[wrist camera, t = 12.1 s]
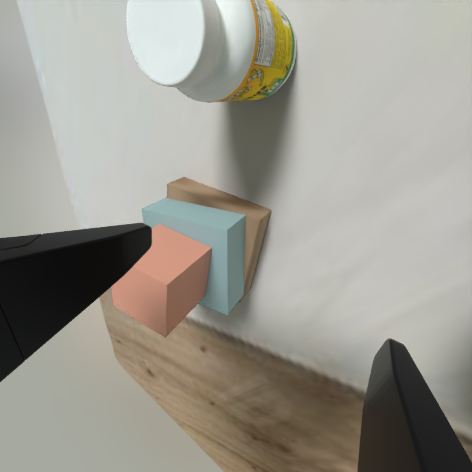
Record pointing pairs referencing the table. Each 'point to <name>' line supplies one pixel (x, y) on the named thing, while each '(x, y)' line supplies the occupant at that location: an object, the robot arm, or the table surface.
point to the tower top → (213, 235)
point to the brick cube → (164, 281)
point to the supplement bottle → (213, 46)
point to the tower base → (224, 201)
